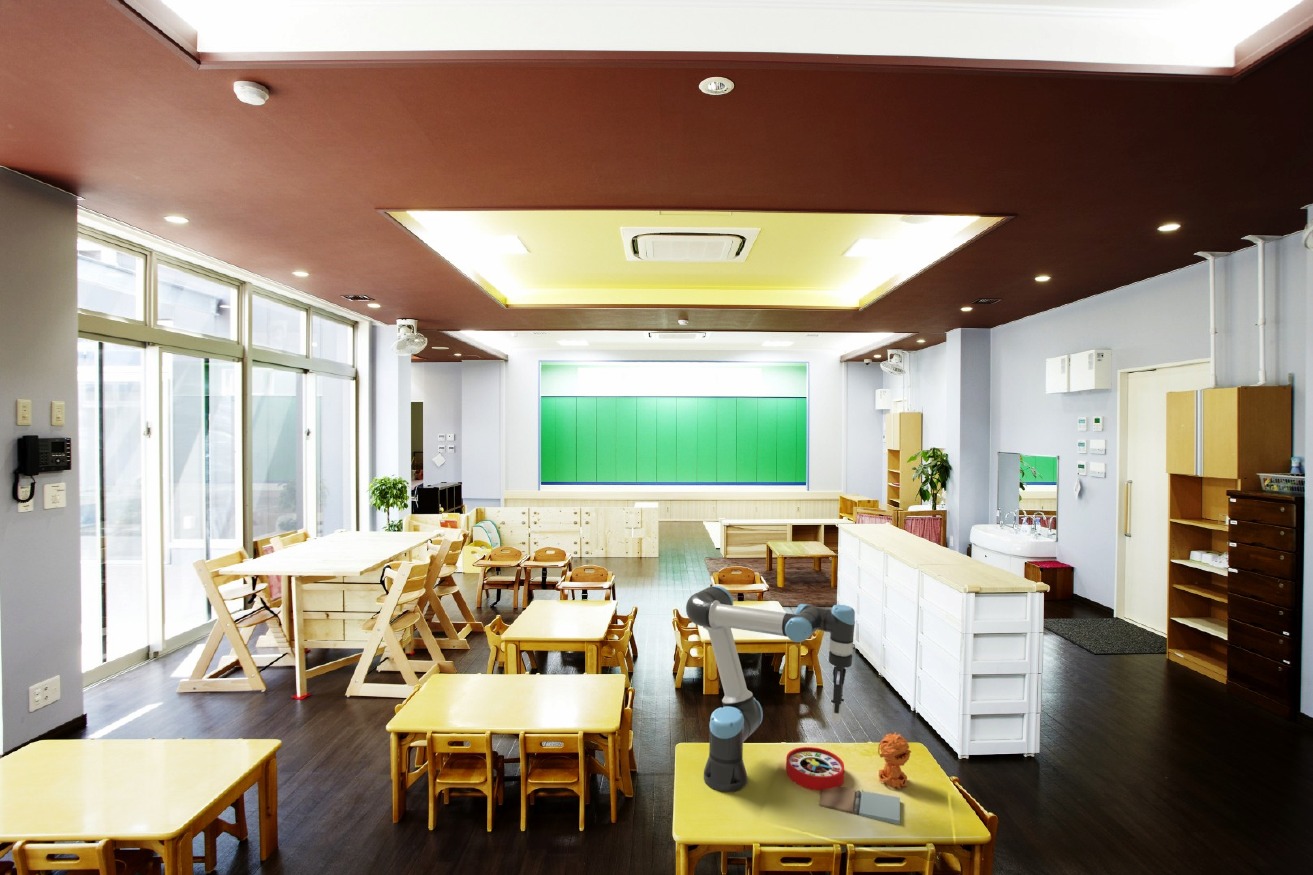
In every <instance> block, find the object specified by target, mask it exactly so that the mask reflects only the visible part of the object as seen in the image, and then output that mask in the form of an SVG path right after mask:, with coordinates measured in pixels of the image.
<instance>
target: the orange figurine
mask: <svg viewBox="0 0 1313 875" xmlns="http://www.w3.org/2000/svg"><path fill="white" fill-rule="evenodd" d="M901 735H902V733H901V734H900V733H897V731H895V732H894V733H891V732H890V733H889V734H888V733H887V734H886V735H885V736H884V737H883V738H882V739H881V740H880V742H879V744H878V746H877V747H878V749H877V753H878V755H879V758H883V760H884V761H885V763H884V766H883V769H879V770H878V778H879V783H880V782H882V783H884V784H886V785H887V786H889V787H892V788H893V789H895V788H897V789H898V790H901V787H906V788H907V784H908V780H907V779H908V776H907V774H905V772H904V771H902V769H901V766H902V767H903V766H905V764H906V763H907V762H908V760H910V756H911V753H912V750H910V745H909V743H908V740H907V739H906V738H904V737H903V736H901ZM880 752H881V753H880Z"/></svg>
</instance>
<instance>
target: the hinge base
mask: <svg viewBox="0 0 1313 875" xmlns="http://www.w3.org/2000/svg"><path fill="white" fill-rule="evenodd" d="M861 793H862V791H861V790H858V789H857V790H856V789H853V788H849V787H845V786H842V785H841V786H837V787H834V788H828V789H822V791H821V794H820V799H819V802H818V805H819V807H822V808H823V807H824V808H826V809H827V808H828V809H830V810H836V811H840V812H843V813H847V814H852V815H856V816H860V815H859V812H860V805H859V806H858V805H855V799H856V798H859V799H860V800H861Z"/></svg>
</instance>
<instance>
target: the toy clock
mask: <svg viewBox="0 0 1313 875" xmlns="http://www.w3.org/2000/svg"><path fill="white" fill-rule="evenodd" d="M785 759H786V760H785V772H786V775H787V777H788V778H789V779H790V780H791V781H792V782H793V783H794V784H796V785H798V786H800V787H803V788H805V789H808V790H811V791H818V792H819V791H820V792H822V789H828V788H834V787H837V786H841V787H842V786H843V784H844V782H845V764H844V761H843V760H842V759H841V758H840V756H838V755H837V754H835V753H834V752H831V751H829V750H826V749H824V748H823V749H822V748H818V747H814V746H813V747H812V746H811V747H810V746H803V747H797V748H794V749H791V750H790V751H789V752H788V753H787V754H786V758H785ZM805 763H807V765H804V766H802V765H801V764H805ZM826 769H828V770H826Z"/></svg>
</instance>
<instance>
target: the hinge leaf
mask: <svg viewBox="0 0 1313 875" xmlns="http://www.w3.org/2000/svg"><path fill="white" fill-rule="evenodd" d="M900 798H901V797H898V796H893V795H888V794H881V793H877V792H875V793H874V792H870V791H864V790H861V796H860V799H859V798H856V797H855V799H854V806H855V805H858V806H859V815H858V816H860V817H865V818H867V819H868V818H869V819H873V820H877V821H881V822H886V823H888V824H889V823H890V824H893V825H894V824H895V825H897V826H901V800H900Z"/></svg>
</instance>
